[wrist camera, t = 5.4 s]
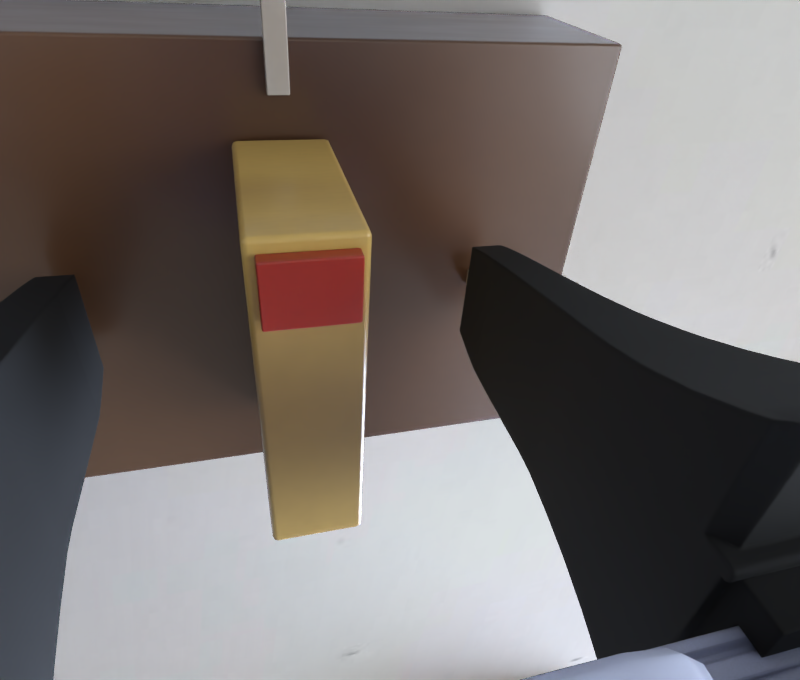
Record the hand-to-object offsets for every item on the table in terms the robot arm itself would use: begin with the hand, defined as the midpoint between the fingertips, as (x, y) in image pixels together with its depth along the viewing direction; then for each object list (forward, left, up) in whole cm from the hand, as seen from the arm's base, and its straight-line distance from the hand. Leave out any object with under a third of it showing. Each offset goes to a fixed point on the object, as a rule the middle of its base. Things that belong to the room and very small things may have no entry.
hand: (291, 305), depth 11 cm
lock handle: (0, 0, 0) cm, 0 cm away
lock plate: (0, 0, -3) cm, 3 cm away
